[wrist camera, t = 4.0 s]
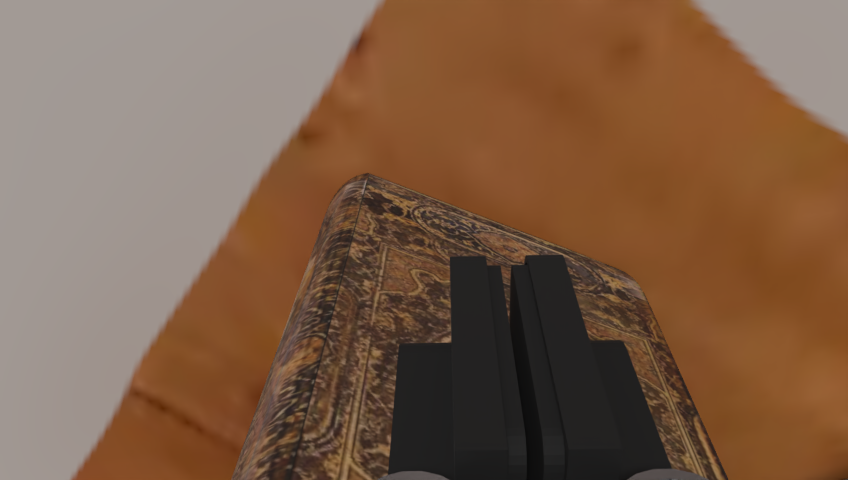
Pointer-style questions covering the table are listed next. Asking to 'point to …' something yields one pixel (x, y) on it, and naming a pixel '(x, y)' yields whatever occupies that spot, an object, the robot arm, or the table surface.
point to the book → (423, 334)
